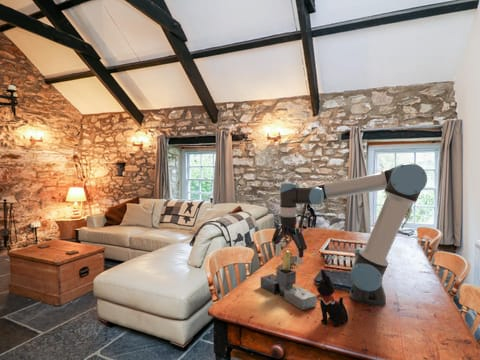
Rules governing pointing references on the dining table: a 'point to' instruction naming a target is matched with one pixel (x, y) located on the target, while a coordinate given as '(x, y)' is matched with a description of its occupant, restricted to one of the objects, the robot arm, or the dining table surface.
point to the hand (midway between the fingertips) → (288, 260)
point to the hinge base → (278, 281)
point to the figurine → (330, 302)
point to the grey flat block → (300, 297)
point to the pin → (286, 261)
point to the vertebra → (292, 262)
